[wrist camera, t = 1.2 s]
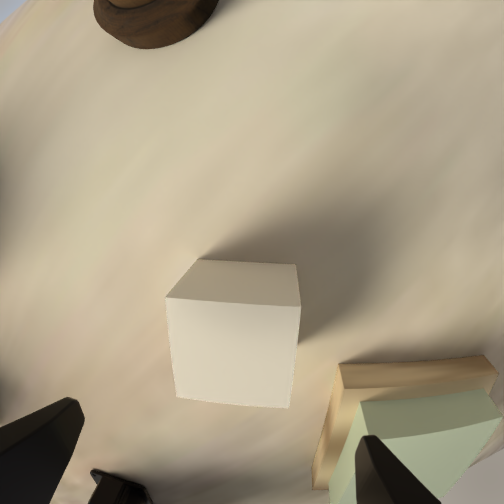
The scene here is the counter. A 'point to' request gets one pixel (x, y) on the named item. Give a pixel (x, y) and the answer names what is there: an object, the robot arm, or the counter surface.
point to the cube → (235, 332)
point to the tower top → (420, 438)
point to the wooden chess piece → (152, 20)
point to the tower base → (390, 396)
